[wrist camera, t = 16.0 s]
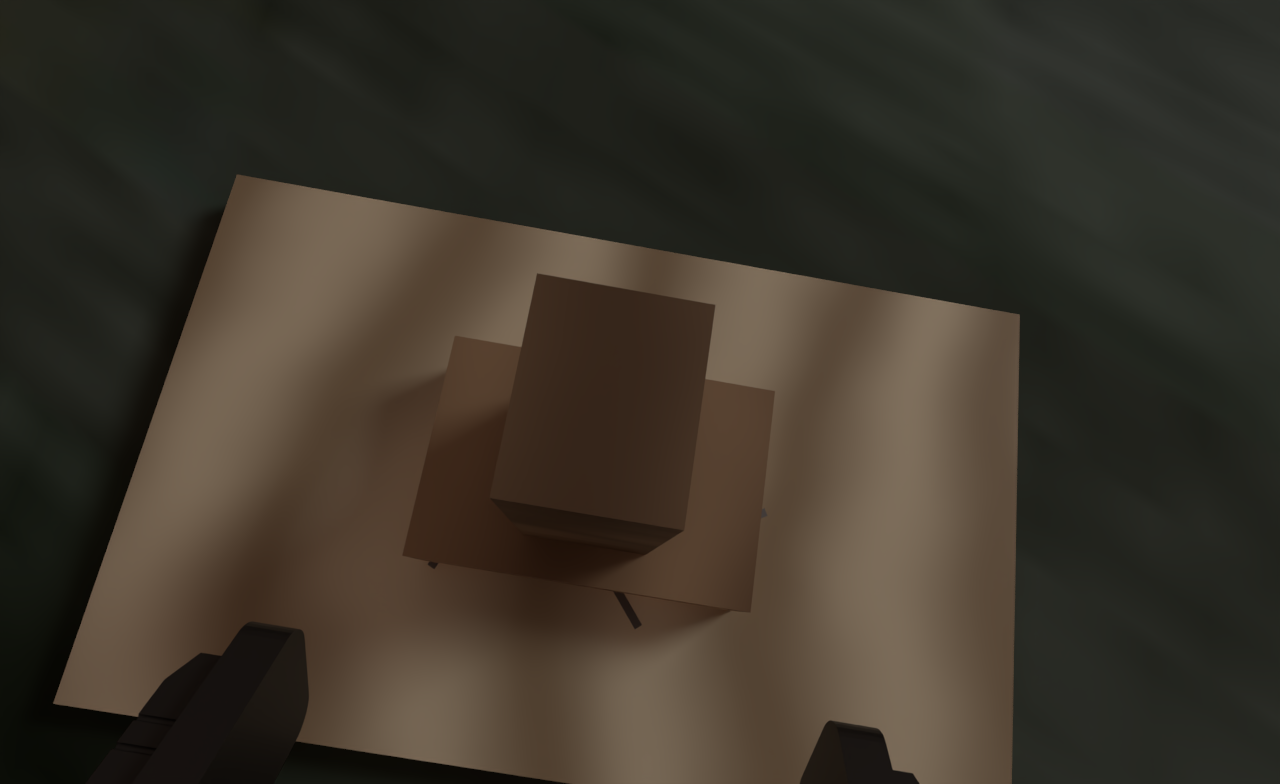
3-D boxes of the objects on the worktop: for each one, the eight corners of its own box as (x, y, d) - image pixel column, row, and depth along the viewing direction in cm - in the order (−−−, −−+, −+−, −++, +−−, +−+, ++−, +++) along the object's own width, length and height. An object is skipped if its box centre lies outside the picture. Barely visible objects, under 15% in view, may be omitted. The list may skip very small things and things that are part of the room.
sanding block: (755, 412, 23) (878, 282, 14) (731, 610, 22) (853, 622, 12) (467, 362, 23) (387, 194, 13) (422, 560, 21) (292, 530, 12)
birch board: (995, 330, 26) (1019, 314, 25) (981, 834, 22) (1010, 851, 20) (256, 198, 25) (236, 174, 24) (89, 696, 21) (52, 703, 20)
